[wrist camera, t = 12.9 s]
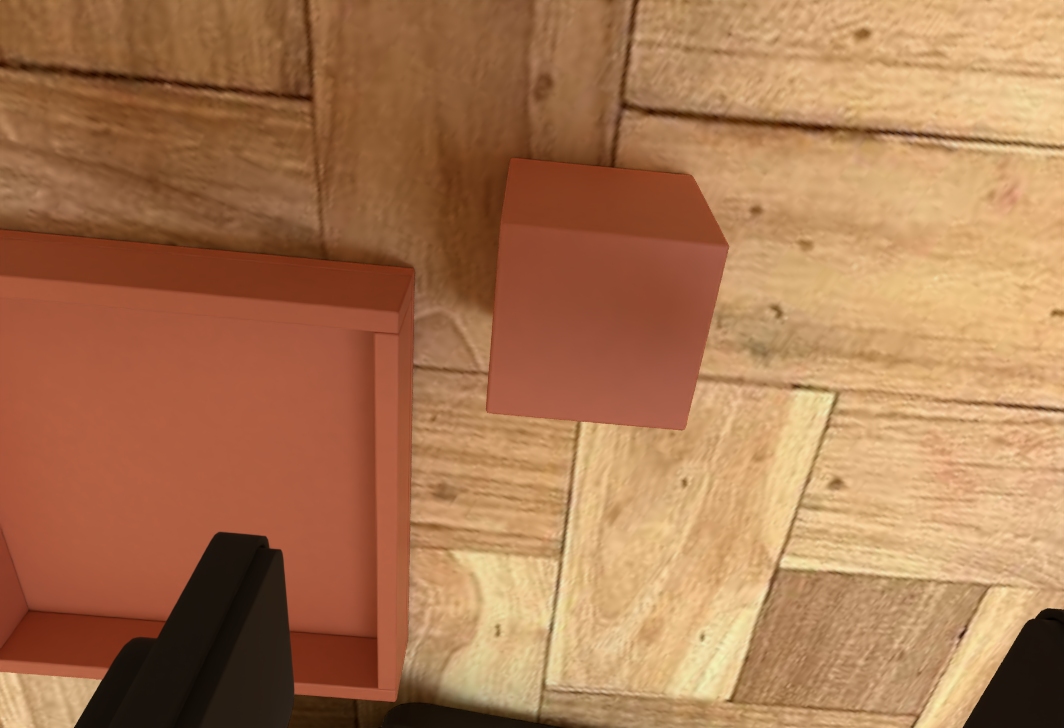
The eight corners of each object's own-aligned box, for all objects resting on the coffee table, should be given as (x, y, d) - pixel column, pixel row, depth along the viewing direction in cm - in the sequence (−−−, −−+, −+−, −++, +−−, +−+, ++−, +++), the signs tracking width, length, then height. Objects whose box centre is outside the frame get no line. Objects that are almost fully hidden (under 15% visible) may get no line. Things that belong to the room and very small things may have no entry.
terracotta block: (510, 156, 18) (500, 222, 15) (693, 174, 19) (731, 245, 15) (497, 320, 21) (485, 414, 17) (660, 335, 21) (685, 432, 17)
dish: (-111, 217, 20) (-193, 257, 17) (415, 267, 20) (399, 312, 18) (24, 609, 27) (-21, 671, 25) (408, 639, 27) (396, 702, 25)
